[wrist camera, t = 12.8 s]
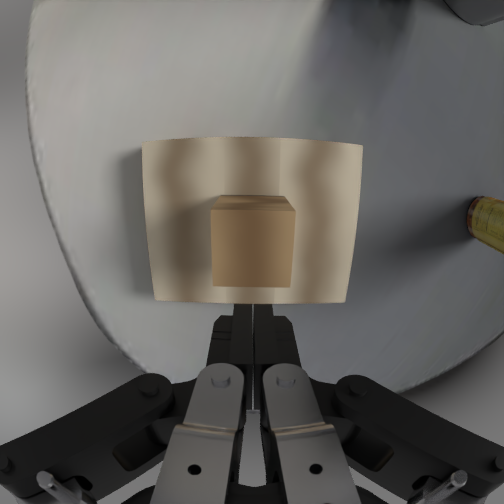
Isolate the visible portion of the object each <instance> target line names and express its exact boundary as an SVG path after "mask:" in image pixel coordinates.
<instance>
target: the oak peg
mask: <svg viewBox="0 0 504 504" xmlns="http://www.w3.org/2000/svg"><path fill="white" fill-rule="evenodd" d="M295 218H296V211H295V209H294V208H293V207H292V205H291V204H290V203H289V201H288V200H287V199H286V198H285V196H265V195H220V197H219V198H218V200H217V201H216V202H215V204H214V205H213V207H212V208H211V251H212V279H213V286H218V287H272V288H290V285H291V273H292V261H293V248H294V234H295Z"/></svg>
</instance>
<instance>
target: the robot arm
mask: <svg viewBox="0 0 504 504" xmlns="http://www.w3.org/2000/svg"><path fill="white" fill-rule="evenodd" d="M445 2H446V3H447V4H448V6H449V7H450V8H451V9H452V10H453V11H454V12H455V13H456V14H457V15H458V16H459V17H460V18H462V19H463V20H464V21H466V22H468V23H470V24H472V25H479V24H480V25H482V26H487V25H490V24H493V23H496V22H499V21H502V20H504V0H445ZM252 386H253V388H254V410H260V433H261V441H262V449H263V456H264V463H265V472H266V485H263V486H259V487H250V486H245V485H241V484H239V469H240V460H241V452H242V443H243V434H244V425H245V423H246V410H252ZM161 461H163V463H162V467H161V469H160V473H159V476H158V479H157V482H156V485H153V486H151V487H148V488H145V489H144V490H142V491H139V492H138V493H136V494H135V495H133V496H132V497H130V498H129V499H127V500H126V501H124V502H123V503H121V504H388V503H387V502H385V501H383V500H382V499H380V498H379V497H377V496H376V495H374V494H373V493H371V492H370V491H368V490H366V489H364V488H362V487H359V486H357V485H355V484H354V481H353V478H352V475H351V472H350V469H349V466H350V467H351V468H353V469H354V470H356V471H357V472H359V473H360V474H362V475H364V476H365V477H367V478H368V479H370V480H371V481H373V482H375V483H376V484H378V485H380V486H381V487H383V488H385V489H387V490H388V491H390V492H391V493H393V494H395V495H397V496H399V497H400V498H402V499H404V500H406V501H407V504H484V502H485V500H486V498H487V496H488V495H489V494H490V493H491V492H492V491H494V490H495V489H496V488H498V487H499V486H500V485H502V484H503V483H504V447H503V446H500V445H498V444H496V443H494V442H492V441H489V440H487V439H485V438H483V437H481V436H478V435H476V434H474V433H472V432H470V431H468V430H466V429H464V428H462V427H460V426H457V425H455V424H453V423H451V422H449V421H447V420H445V419H443V418H441V417H439V416H438V415H436V414H433V413H431V412H430V411H428V410H426V409H424V408H422V407H420V406H418V405H416V404H414V403H413V402H411V401H409V400H407V399H405V398H403V397H401V396H400V395H398V394H396V393H394V392H392V391H391V390H389V389H387V388H385V387H383V386H382V385H380V384H378V383H376V382H375V381H373V380H371V379H369V378H367V377H365V376H361V375H348V376H345V377H343V378H341V379H340V380H339V381H338V382H337V384H330V383H324V382H319V381H316V380H314V379H312V378H310V377H309V376H308V374H307V373H306V371H305V370H303V369H302V367H301V363H300V358H299V354H298V349H297V344H296V340H295V335H294V331H293V326H292V323H291V322H290V321H289V320H288V319H287V318H286V316H273V308H272V304H254V313H253V323H252V304H237V303H234V311H233V316H227V315H221V316H220V317H219V318H218V319H217V320H216V321H215V322H214V326H213V333H212V337H211V342H210V347H209V353H208V358H207V364H206V367H205V368H203V369H202V370H201V371H200V373H199V375H198V377H197V378H195V379H193V380H191V381H187V382H182V383H175V384H171V382H170V381H169V380H168V379H167V378H166V377H165V376H162V375H160V374H155V373H148V374H143V375H140V376H138V377H136V378H134V379H132V380H131V381H129V382H127V383H125V384H123V385H122V386H120V387H118V388H116V389H114V390H113V391H111V392H109V393H107V394H105V395H103V396H101V397H100V398H98V399H96V400H94V401H92V402H90V403H88V404H87V405H84V406H83V407H81V408H79V409H77V410H75V411H73V412H71V413H69V414H67V415H65V416H63V417H61V418H59V419H57V420H55V421H53V422H51V423H49V424H47V425H45V426H43V427H40V428H38V429H36V430H34V431H32V432H30V433H28V434H26V435H23V436H21V437H19V438H17V439H14V440H12V441H10V442H8V443H5V444H3V445H1V446H0V484H1V485H2V486H3V487H4V488H6V489H7V490H8V491H10V493H12V495H14V497H15V498H16V500H17V502H18V504H97V501H98V500H100V499H102V498H104V497H105V496H107V495H109V494H111V493H112V492H114V491H116V490H118V489H119V488H121V487H123V486H124V485H126V484H128V483H129V482H131V481H132V480H134V479H136V478H137V477H139V476H140V475H142V474H143V473H145V472H146V471H148V470H149V469H151V468H152V467H154V466H155V465H157V464H158V463H160V462H161Z"/></svg>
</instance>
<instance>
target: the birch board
mask: <svg viewBox="0 0 504 504" xmlns="http://www.w3.org/2000/svg"><path fill="white" fill-rule="evenodd" d="M362 152H363V145H356V144H348V143H339V142H330V141H319V140H306V139H291V138H268V137H209V138H186V139H171V140H158V141H148V142H142V171H143V193H144V208H145V221H146V232H147V242H148V251H149V259H150V267H151V275H152V282H153V289H154V295H155V300H160V301H179V302H204V303H246V304H300V303H342V302H345V299H346V294H347V288H348V282H349V276H350V270H351V264H352V257H353V250H354V243H355V235H356V227H357V218H358V208H359V197H360V185H361V171H362ZM220 195H265V196H285V198H286V199H287V200H288V201H289V203H290V204H291V205H292V207H293V208H294V209H295V211H296V218H295V234H294V248H293V261H292V273H291V285H290V288H272V287H218V286H213V279H212V251H211V208H212V207H213V205H214V204H215V202H216V201H217V200H218V198H219V197H220Z"/></svg>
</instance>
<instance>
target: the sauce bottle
mask: <svg viewBox="0 0 504 504" xmlns="http://www.w3.org/2000/svg"><path fill="white" fill-rule="evenodd" d="M467 226H468V229H469V232H470V234H471V235H472V236H473V237H475V238H477V239H478V240H479V241H480V242H482V243H484V244H486V245H488V246H490V247H491V248H493V249H495V250H497V251H499V252H500V253H502V254H504V201H501V200H498V199H495V198H492V197H484V196H481V197H478V198H476V199H475V200H474V201H473V202H472V204H471V205H470V207H469V210H468V214H467Z"/></svg>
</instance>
